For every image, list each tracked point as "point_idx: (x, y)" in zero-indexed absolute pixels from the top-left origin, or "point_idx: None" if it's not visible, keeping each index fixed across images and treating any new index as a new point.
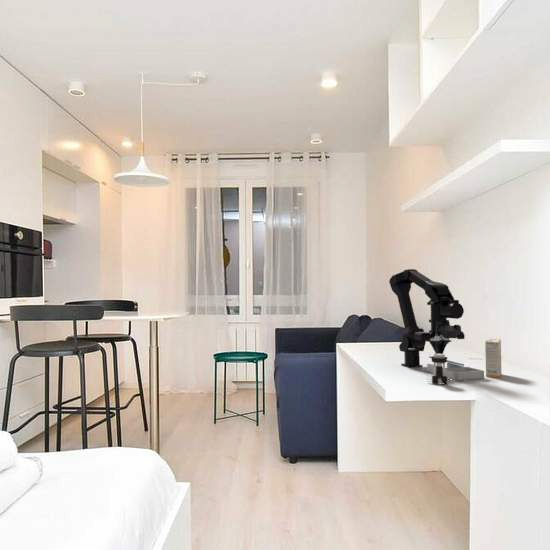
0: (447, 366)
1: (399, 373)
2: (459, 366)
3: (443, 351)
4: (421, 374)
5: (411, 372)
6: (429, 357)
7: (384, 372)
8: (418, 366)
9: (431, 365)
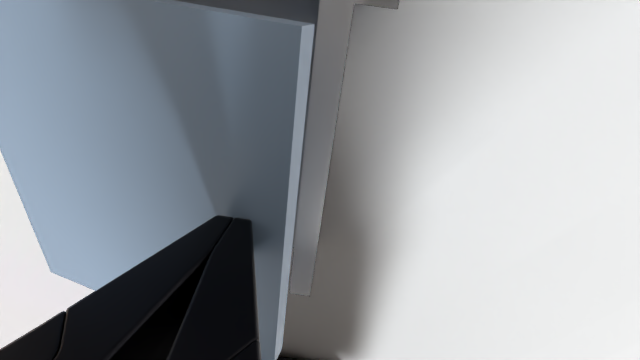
0: None
1: (578, 282)
2: None
3: (111, 284)
4: (461, 183)
5: (458, 271)
6: (280, 346)
7: (630, 343)
8: None
9: (318, 238)
